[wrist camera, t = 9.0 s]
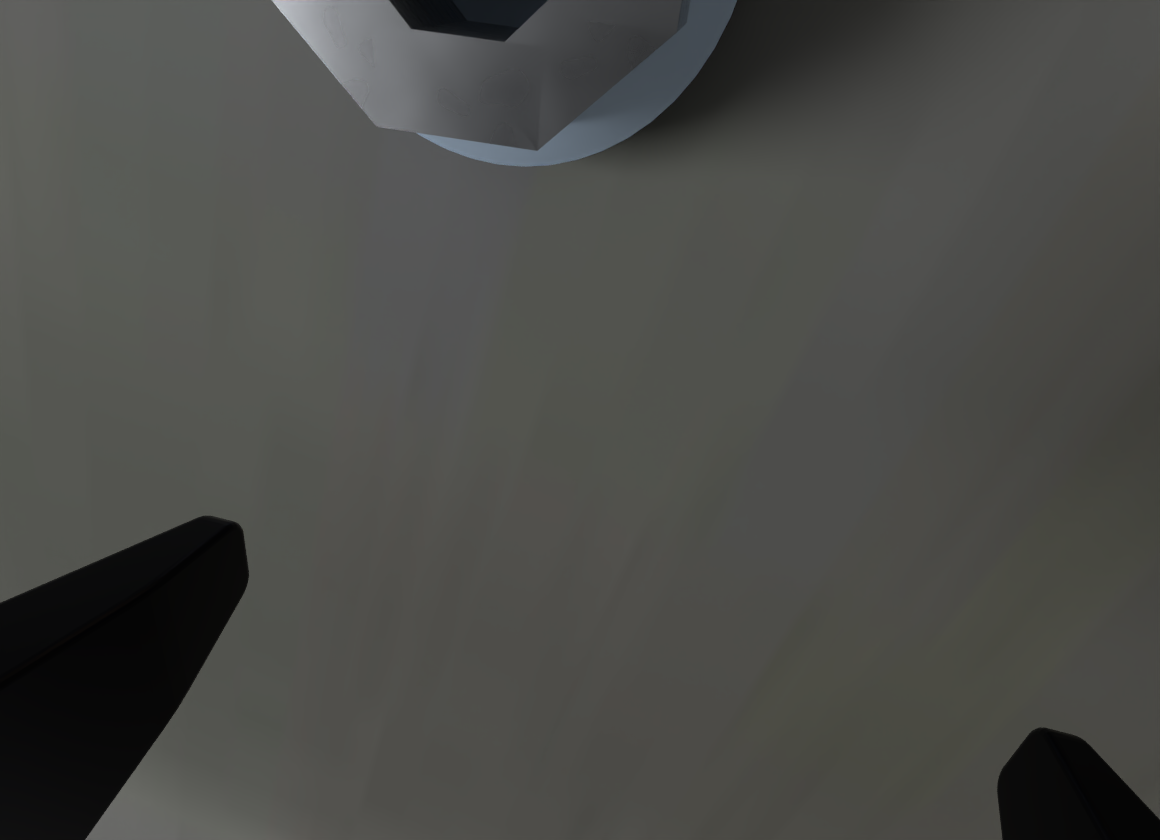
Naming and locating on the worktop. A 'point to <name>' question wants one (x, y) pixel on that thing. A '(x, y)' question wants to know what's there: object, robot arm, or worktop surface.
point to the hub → (618, 107)
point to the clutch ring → (482, 61)
